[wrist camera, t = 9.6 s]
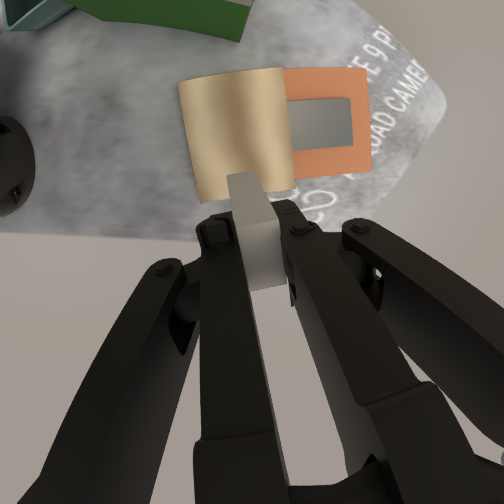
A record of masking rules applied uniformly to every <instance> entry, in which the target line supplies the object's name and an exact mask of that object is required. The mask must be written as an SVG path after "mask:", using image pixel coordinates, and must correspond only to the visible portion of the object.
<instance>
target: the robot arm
mask: <svg viewBox="0 0 504 504" xmlns="http://www.w3.org/2000/svg"><path fill="white" fill-rule="evenodd" d="M34 174H35V160H34V153H33V149H32V145H31V142H30V140H29V137H28V135H27V133H26V132H25V130H24V129H23V127H22V126H21V125H20V124H19V123H18V122H17V121H15V120H14V119H12V118H10V117H7V116H0V217H3V216H6V215H8V214H10V213H12V212H13V211H15V210H16V209H17V208H19V207H20V206H21V205H22V204H23V203H24V202H25V201H26V199H27V198H28V196H29V194H30V191H31V189H32V185H33V181H34ZM226 178H227V184H228V190H229V196H230V203H231V209H232V211H230V212H225V213H220V214H215V215H211V216H210V217H209V218H208V219H206V220H204V221H202V222H201V223H199V224H198V225H197V227H196V233H197V236H198V240H199V243H200V247H201V257H200V258H198V259H197V260H195V261H193V262H191V263H188V264H186V265H184V266H183V265H182V263H181V261H180V260H178V259H176V258H168V259H162V260H159V261H157V262H156V263H154V264H153V265H151V266H150V267H149V268H148V269H147V271H146V272H145V274H144V275H143V277H142V279H141V280H140V282H139V283H138V285H137V287H136V288H135V290H134V291H133V293H132V295H131V296H130V298H129V299H128V301H127V303H126V305H125V306H124V308H123V310H122V311H121V313H120V314H119V316H118V318H117V320H116V321H115V323H114V325H113V327H112V328H111V330H110V332H109V333H108V335H107V337H106V339H105V341H104V342H103V344H102V346H101V348H100V349H99V352H98V353H97V355H96V357H95V359H94V360H93V362H92V364H91V366H90V368H89V370H88V372H87V374H86V376H85V378H84V379H83V381H82V383H81V385H80V388H79V389H78V391H77V393H76V395H75V397H74V399H73V401H72V403H71V405H70V407H69V409H68V412H67V414H66V416H65V418H64V420H63V422H62V424H61V427H60V429H59V431H58V433H57V435H56V438H55V440H54V443H53V444H52V447H51V449H50V451H49V454H48V456H47V459H46V461H45V463H44V466H43V468H42V471H41V473H40V476H39V477H38V478H37V480H36V481H35V482H34V483H33V484H32V486H31V487H30V488H29V489H28V490H27V492H26V493H25V494H24V495H23V497H22V498H21V499H20V500H19V501H18V503H17V504H149V503H150V500H151V496H152V492H153V489H154V485H155V481H156V478H157V474H158V470H159V467H160V463H161V459H162V456H163V452H164V449H165V446H166V442H167V439H168V435H169V432H170V428H171V425H172V422H173V418H174V415H175V412H176V408H177V404H178V402H179V398H180V395H181V392H182V388H183V385H184V382H185V378H186V375H187V372H188V369H189V365H190V362H191V359H192V356H193V352H194V349H195V346H196V343H197V340H198V337H199V334H200V405H201V438H200V440H198V441H197V442H195V445H194V449H193V474H194V491H195V504H504V452H503V454H502V457H501V461H502V464H503V465H500V464H498V463H495V462H493V461H490V460H488V459H485V458H483V457H481V456H478V455H476V454H474V452H473V450H472V448H471V446H470V444H469V442H468V440H467V438H466V436H465V434H464V432H463V430H462V428H461V426H460V424H459V422H458V421H457V419H456V417H455V415H454V413H453V411H452V410H451V408H450V406H449V404H448V402H447V401H446V399H445V397H444V395H443V393H442V392H441V391H440V389H441V390H442V391H443V392H444V393H445V394H446V395H447V396H448V398H449V399H451V401H452V402H453V403H454V404H455V405H456V406H457V407H458V408H459V409H460V410H461V411H462V412H463V413H464V414H465V416H466V417H467V418H468V419H469V420H470V421H471V422H472V423H473V424H474V425H475V426H476V427H477V428H478V429H479V430H480V431H481V432H482V433H483V434H484V435H485V436H487V437H488V438H489V439H491V440H492V441H493V442H495V443H496V444H498V445H500V446H501V447H503V448H504V308H502V307H501V306H500V305H499V304H497V303H496V302H495V301H493V300H492V299H491V298H489V297H488V296H487V295H485V294H484V293H482V292H481V291H480V290H478V289H477V288H476V287H474V286H473V285H471V284H470V283H468V282H467V281H466V280H464V279H463V278H462V277H460V276H459V275H457V274H456V273H454V272H453V271H451V270H450V269H448V268H447V267H446V266H444V265H443V264H441V263H440V262H438V261H437V260H435V259H433V258H432V257H430V256H429V255H427V254H426V253H424V252H423V251H421V250H420V249H418V248H416V247H415V246H413V245H412V244H410V243H408V242H406V241H405V240H404V239H402V238H400V237H399V236H397V235H395V234H394V233H392V232H390V231H389V230H387V229H385V228H384V227H382V226H380V225H379V224H377V223H375V222H373V221H371V220H368V219H363V218H359V219H358V218H354V219H351V220H348V221H346V222H344V223H343V225H342V232H323V231H322V230H321V228H320V227H319V226H318V225H317V224H316V223H314V222H311V221H307V220H306V218H305V217H304V215H303V214H302V212H301V211H300V209H299V208H298V207H297V205H296V204H295V202H293V201H290V200H288V199H285V200H280V201H275V202H270V201H269V199H268V197H267V195H266V193H265V191H264V189H263V187H262V185H261V183H260V181H259V179H258V177H257V176H256V174H255V172H254V170H251V171H246V172H241V173H236V174H231V175H226ZM376 269H377V270H379V271H380V273H381V274H382V276H381V278H380V277H379V276H377V275H376ZM286 276H287V278H288V282H289V290H290V300H291V306H294V305H295V308H296V311H297V314H298V316H299V319H300V322H301V325H302V328H303V331H304V333H305V336H306V339H307V342H308V345H309V348H310V351H311V353H312V356H313V359H314V362H315V365H316V368H317V371H318V374H319V377H320V380H321V383H322V386H323V388H324V391H325V394H326V397H327V400H328V403H329V406H330V409H331V412H332V415H333V418H334V421H335V424H336V427H337V430H338V434H339V436H340V440H341V443H342V446H343V449H344V455H345V464H346V470H347V473H348V477H347V478H346V479H344V480H342V481H340V482H339V483H336V484H332V485H316V486H315V485H314V486H290V482H289V478H288V474H287V470H286V466H285V461H284V456H283V451H282V447H281V442H280V437H279V432H278V428H277V423H276V419H275V413H274V409H273V404H272V399H271V394H270V389H269V385H268V380H267V375H266V370H265V365H264V360H263V355H262V350H261V346H260V340H259V335H258V331H257V326H256V321H255V316H254V311H253V306H252V301H251V296H250V291H255V290H260V289H264V288H269V287H274V286H278V285H283V284H287V280H286ZM398 346H399V347H400V348H401V349H402V350H403V351H404V352H405V353H406V354H407V355H408V356H409V357H410V358H411V359H412V360H413V361H414V362H415V363H416V364H417V365H418V366H419V367H420V368H421V369H422V370H423V371H424V372H425V374H426V375H427V376H428V377H429V378H430V379H431V380H432V381H433V382H434V383H435V384H434V383H432V382H431V381H424V382H421V381H419V380H418V379H417V377H416V376H415V375H414V373H413V371H412V369H411V368H410V366H409V364H408V362H407V361H406V359H405V357H404V355H403V354H402V352H401V350H400V349H399V347H398ZM437 386H438V387H439V388H440V389H439V388H438V387H437Z"/></svg>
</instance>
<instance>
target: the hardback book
mask: <svg viewBox="0 0 504 504" xmlns="http://www.w3.org/2000/svg"><path fill="white" fill-rule="evenodd" d="M62 1H64V2H66V3H69V4H71V5H73V6H75V7H77V8H79V9H81V10H83V11H85V12H87V13H89V14H91V15H93V16H95V17H97V18H98V19H100V20H102V21H117V22H130V23H140V24H149V25H156V26H163V27H170V28H176V29H182V30H187V31H192V32H197V33H202V34H206V35H211V36H215V37H219V38H223V39H227V40H231V41H235V42H238V43H239V42H240V39H241V37H242V34H243V31H244V27H245V24H246V21H247V18H248V15H249V12H250V9H251V6H252V3H253V0H62Z"/></svg>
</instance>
